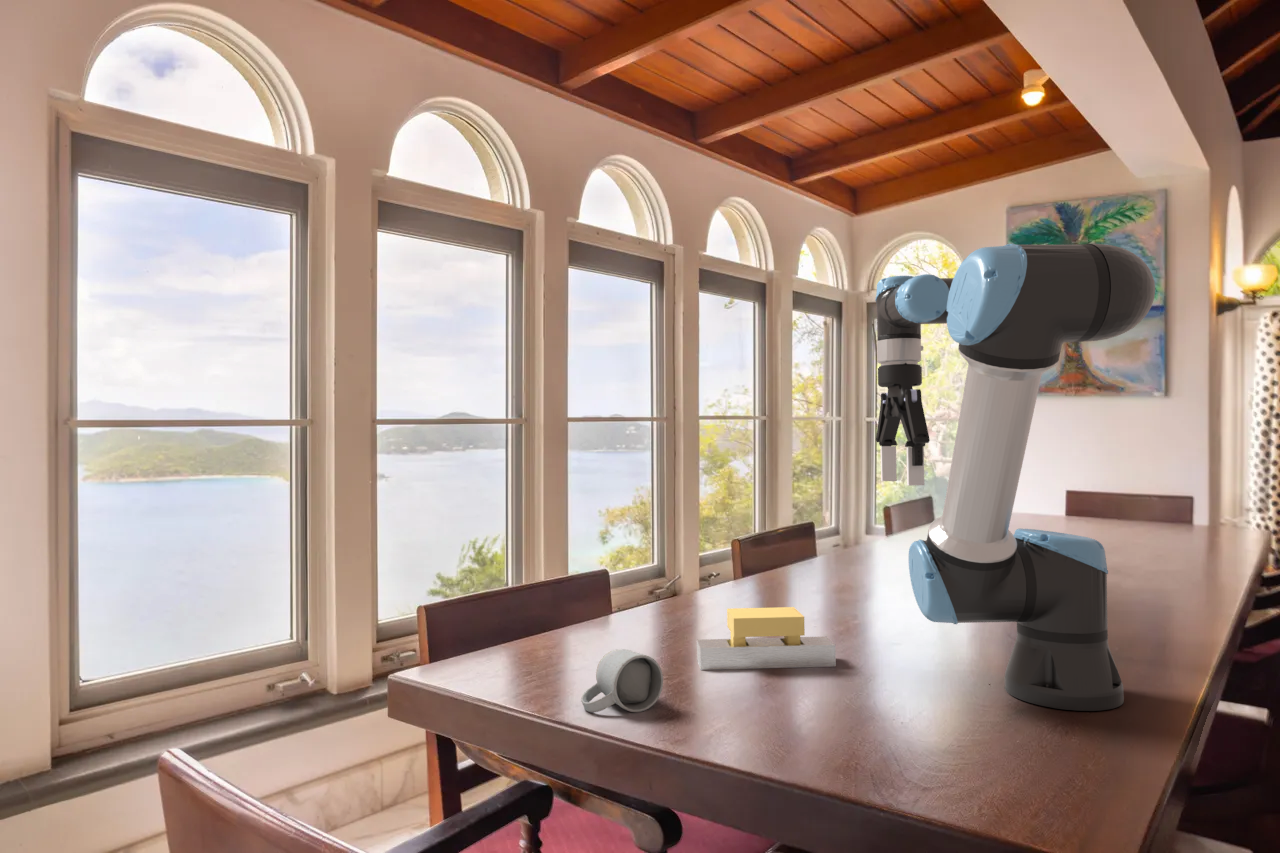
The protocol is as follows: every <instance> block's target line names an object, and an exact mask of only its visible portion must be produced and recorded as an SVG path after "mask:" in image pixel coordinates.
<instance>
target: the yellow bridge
mask: <svg viewBox="0 0 1280 853" xmlns="http://www.w3.org/2000/svg"><path fill="white" fill-rule="evenodd" d="M726 612H727V613H726V616H727V617H726V620H727V621H726V622H727V623H726V624H727V625H726V626H727V628H728V630H729V631H730V639H731V646H746V638H764V637H783V638H784V644H785V645H800V637H804V636H805V616H804V615H803V614H802V613H801V612H800V611H799V610H798V609H797V608H795V607H794V606H783V607H782V606H781V607H778V606H777V607H742V608H741V607H740V608H739V607H738V608H733V607H732V608H727V609H726Z"/></svg>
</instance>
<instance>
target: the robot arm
mask: <svg viewBox="0 0 1280 853" xmlns="http://www.w3.org/2000/svg"><path fill="white" fill-rule="evenodd" d="M1155 294H1156V284H1155V280H1154V277H1153V274H1152V271H1151V269H1150V268H1149V265H1147V263H1146V262H1145V261H1144V260H1143V259H1142V258H1141V257H1140V256H1138V255H1137V254H1135V253H1133V252H1132V251H1130V250H1128V249H1126V248H1123V247H1121V246H1117V245H1111V244H1106V243H1085V244H1083V243H1082V244H1081V243H1080V244H1075V243H1074V244H1015V243H1010V244H1008V243H1007V244H1004V245H998V246H995V245H994V246H984V247H980V248H977V249H975V250H974V251H972V252H971V253H969V254H968V256H967V257H966V258H964V259H963V260H962V262H961V263H960V265H959V266H958V268H957V270H956V272H955V274H954V276H953V277H946V278H945V277H944V278H943V277H942V278H940V277H939V276H937V275H934V274H927V273H926V274H920V275H915V276H912V275H892V276H889V277H885V278H884V277H883V278H882V279H880V280H879V281H878V282H877V284H876V295H875V300H874V301H875V305H876V336H877V340H876V360H877V361H876V363H878V364H880V366H879V367H878V368H877V384H878V386H879V387H881V388H887V392H881V393H880V407H879V414H878V423H877V428H876V435H875V436H876V437H875V442H876V443H878V445H879V446H880V481H881V482H897V480H898V479H897V477H898V474H897V469H898V468H897V446H898V445H899V444H898V442H897V440H896V437H897V434H898V430H899V426H900V424H901V425H902V429H903V431H904V434H905V438H906V440H907V441H906V442H905V445H904V447H905V448H906V486H908V487H909V486H925V459H924V458H925V450H924V449H925V446H926V444H929V443H930V440H931V439H930V435H929V431H928V430H929V429H928V426H927V420H926V416H925V411H924V406H923V400H922V391H921V389H920V388H919V389H918V388H917V389H913V387H919V386H921V385H922V384H923V377H922V376H923V374H922V373H923V372H922V371H923V370H922V368H923V367H922V366H921V365H920V364H918V363H920V362H921V361H922V351H924V346H923V345H922V340H921V339H922V335H921V334H922V325H940V324H943V325H944V324H946V325H947V326H946V327H947V330H948V334H949V336H950V338H951V339H952V340H953V341H954V342H955V343H958V350H957V351H958V353H959V354H960V355H961V357H963V359H964V360H965V361H966V362H967V371H966V375H965V376H966V377H965V382H964V387H963V395H962V400H961V406H960V412H959V418H958V423H957V424H958V425H957V428H956V435H955V439H954V440H955V441H954V446H953V453H952V457H951V458H952V459H951V465H950V469H949V476H948V482H947V488H946V494H945V499H944V504H943V510H942V515H941V516H939V517H937V518H935V519H934V520H933V521H932V522H931V523H930V524H929V526H928V531H927V535H926V536H927V537H926V540H923V539H918V540H915V541H913V542H912V543H911V544H910V546H909V549H908V570H909V577H910V582H911V587H912V591H913V596H914V598H915V601H916V603H917V606H918V608H919V610H920V612H921V613H922V615H923V616H924V617H925V618H926V619H927V620H928V621H930V622H933V623H941V624H942V623H943V624H945V623H946V624H947V623H948V624H953V625H958V624H961V623H964V624H965V623H969V624H970V623H976V624H977V623H1016V639H1015V642H1014V644H1013V646H1012V651H1011V653H1010V657H1009V660H1008V663H1007V664H1006V665H1007V666H1006V668H1005V671H1004V689H1005V691H1006V693H1008V694H1009V695H1011V696H1012V697H1014V698H1016V699H1018V700H1021V701H1023V702H1026V703H1030V704H1033V705H1037V706H1040V707H1047V708H1052V709H1058V710H1067V711H1079V712H1080V711H1082V712H1083V711H1084V712H1085V711H1086V712H1088V711H1089V712H1095V711H1106V710H1107V711H1108V710H1112V709H1113V710H1114V709H1115V708H1118V707H1121V706H1123V704H1124V700H1125V697H1124V694H1125V693H1124V685H1123V682H1122V679H1121V675H1120V673H1119V670H1118V668H1117V665H1116V662H1115V660H1114V657H1113V654H1112V652H1111V649H1110V646H1109V637H1108V636H1109V634H1108V631H1109V630H1108V629H1109V628H1108V627H1109V626H1108V625H1109V624H1108V579H1107V578H1108V576H1107V575H1108V574H1109V570H1108V566H1107V558H1106V551H1105V547H1104V546H1103V544H1102V543H1101V542H1100V541H1098V540H1096V538H1095V539H1094V538H1092V537H1088V536H1082V535H1076V534H1070V533H1065V532H1057V531H1050V530H1045V529H1044V530H1042V529H1033V528H1017V529H1015V530H1014V533H1012V532H1011V531H1010V530H1009V527H1010V524H1011V518H1012V515H1013V510H1014V509H1013V508H1014V504H1015V500H1016V495H1017V490H1018V486H1019V482H1020V481H1019V480H1020V477H1021V473H1022V472H1021V471H1022V468H1023V462H1024V460H1025V459H1024V458H1025V454H1026V449H1027V444H1028V439H1029V436H1030V435H1029V434H1030V430H1031V425H1032V421H1033V416H1034V411H1035V406H1036V403H1037V398H1038V394H1039V388H1040V386H1041V385H1040V384H1041V378H1042V375H1043V373H1045V372H1047V371H1049V370H1051V369H1052V368H1054V367H1056V366H1057V364H1058V363H1059V361H1060V356H1061V352H1062V347H1063V345H1064V343H1082V342H1084V343H1085V342H1097V341H1104V340H1108V339H1111V338H1115V337H1118V336H1121V335H1123V334H1125V333H1127V332H1128V331H1131V330H1132V329H1133V328H1135V327H1136V326H1137V325H1139V323H1141V322H1142V321H1143V320H1144V318H1145V317H1146V316H1147V315H1148V314H1149V311H1150V310H1151V308H1152V306H1153V304H1154V300H1155V297H1156V296H1155Z"/></svg>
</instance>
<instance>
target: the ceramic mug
mask: <svg viewBox="0 0 1280 853" xmlns="http://www.w3.org/2000/svg"><path fill="white" fill-rule="evenodd" d="M595 673H596V674H595V678H596V683H595V684H593V685H592V686H591V687H589V688H588V689H586V690H585V692H584V693H583V694H582V696H581V699H580V700H581V701H580V702H581V704H582V706H583V708H584V710H585V711H586V712H587V713H591V714H592V713H598V712H601V711H604V710H606V709H607V708H609V707H612V706H613V705H615V704H616V705H618V706H619V707H620V708H622V709H623V710H625V711H628V712H631V713H641V712H644V711H646V710H649V709H651V707H652V706H654V705H655V704H656V702H657V701H658V700H659V699H660V696H661V694H662V691H663V687H664V675H663V671H662V668H661V666H660V664H659V663H658V662H657V660H655V658H653V657H651V656H649V655H647V654H643V653H640V652H636V651H633V650H631V649H625V648H619V649H614V650H611V651H609V652H607V653H606V654H605V655H604V656H603V657H602V658H601V659H600V661H599V662H598V664H597V668H596V672H595ZM602 693H603V695H604V696H603V697H600V698H599V699H596V700H594V701H592V700H593V699H594V698H595V697H597V696H599V695H600V694H602Z"/></svg>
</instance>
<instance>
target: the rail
mask: <svg viewBox="0 0 1280 853" xmlns="http://www.w3.org/2000/svg"><path fill="white" fill-rule="evenodd" d="M836 651H837V650H836V644H835V643H834V641H832V640H831V639H830V638H829V637H828V636H800V645H785V644H784V637H746V646H731V638H715V639H712V638H708V639H696V662H697V664H698V666H699V669H700V671H706V670H708V671H710V670H711V671H713V670H742V669H743V670H746V669H749V670H750V669H752V670H753V669H754V670H755V669H785V668H787V669H789V668H821V667H822V668H823V667H830V668H833V667H836V666H837V662H836V661H837V660H836V659H837V658H836Z"/></svg>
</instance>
